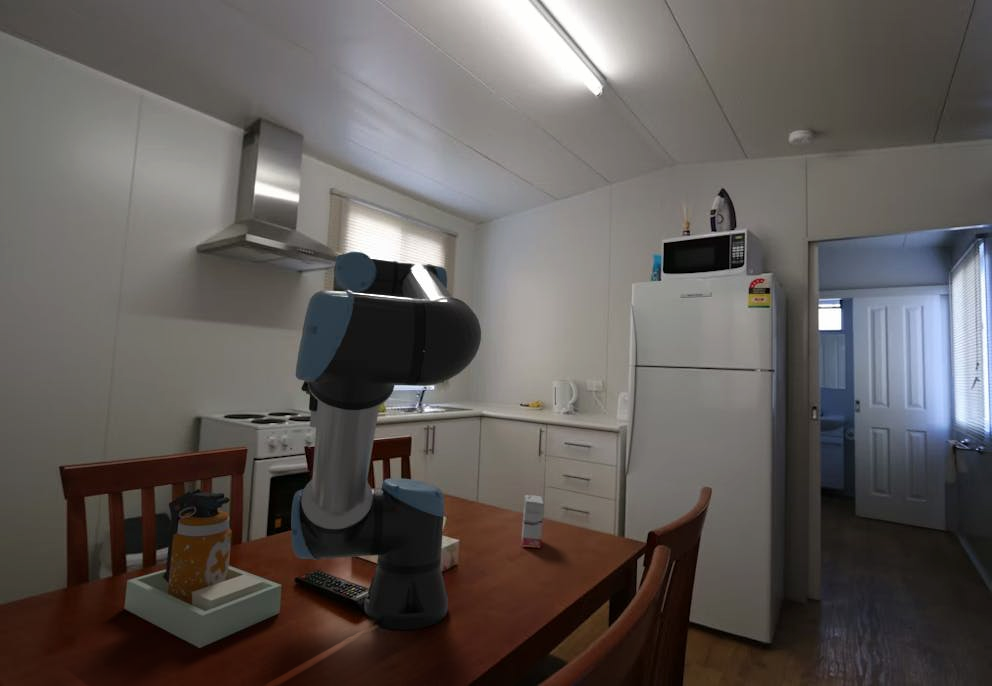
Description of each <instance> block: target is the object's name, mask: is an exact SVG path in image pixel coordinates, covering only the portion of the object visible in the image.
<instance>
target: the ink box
mask: <svg viewBox="0 0 992 686" xmlns="http://www.w3.org/2000/svg"><path fill="white" fill-rule="evenodd" d="M544 506H545V504H544V501H543V498H542V496H540V495H533V494H525V495H524V502H523V512H522V513H523V514H522V525H521V526H522V527H521V544H522V543H523V545H533V546H541V547H542V545H541V544H542V535H543V534H542V532H543V530H542V529H543V521H544V520H543V519H544V517H543V516H544Z"/></svg>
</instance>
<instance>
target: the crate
mask: <svg viewBox="0 0 992 686" xmlns="http://www.w3.org/2000/svg"><path fill="white" fill-rule="evenodd" d="M165 572H166V568H165V569H162V570H159V571H155V572H151V573H149V574H145V575H141V576H138V577H134V578H131V579H128V580H126V589H125V600H124V608H123V609H124V610H125V611H128V612H129V613H132V614H133V615H136V616H137V617H139V618H142V619H143V620H145V621H147V622H149V623H151V624H152V625H154V626H157V627H159V628H160V629H163V630H164V631H166V632H168V633H170V634H171V635H173V636H176V637H178V638H180V639H181V640H183V641H185V642H187V643H189V644H191V645H192V646H195V647H197V648H199V649H201V648H203V647H206V646H207V645H210V644H213V643H215V642H217V641H219V640H222V639H224V638H226V637H228V636H230V635H231V636H232V635H233V634H235V633H238V632H240V631H242V630H244V629H247V628H249V627H251V626H253V625H256V624H258V623H260V622H262V621H265V620H266V619H269V618H272V617H273V616H276V615H279V614H280V612H281V611H280V609H281V600H282V599H281V597H282V584H280V583H276V582H275V581H271V580H269V579H266V578H263V577H261V576H259V575H255V574H252V573H250V572H248V571H245V570H242V569H239V568H236V567H233V566H231V565H229V567H228V578H227V580H229V579H232V578H235V577H238V576H241V575H247V576H249V577H252V578H255V579H257V580H260V581H263V585H262V589H261V590H260V591H257V592H255V593H252V594H249V595H247V596H244V597H242V598H239V599H236V600H234V601H231V602H228V603H226V604H223V605H220V606H218V607H215V608H213V609H210V610H207V611H203V610H201V609H199V608H197V607H195V606H193V605H190V604H188V603H186V602H184V601H182V600H179V599H177V598H175V597H173V596H171V595H169V594H168V585H169V583H168V582H167V581H166V580H165V579H164V578H163V575H164V574H165Z"/></svg>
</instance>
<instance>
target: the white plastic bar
mask: <svg viewBox="0 0 992 686" xmlns="http://www.w3.org/2000/svg"><path fill="white" fill-rule="evenodd" d="M262 585H263V581H260V580H257V579H255V578H252V577H249V576H247V575H241V576H238V577H235V578H232V579H229V580H226V581H223V582H220V583H217V584H215V585H212V586H209V587H206V588H203V589H200V590H197V591H194V592H192V596H193V597H192V605H193V606H195V607H197V608H199V609H201V610H203V611H207V610H210V609H213V608H215V607H218V606H220V605H223V604H226V603H228V602H231V601H234V600H236V599H239V598H242V597H244V596H247V595H249V594H252V593H255V592H257V591H260V590H261V589H262Z"/></svg>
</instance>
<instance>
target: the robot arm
mask: <svg viewBox="0 0 992 686" xmlns="http://www.w3.org/2000/svg"><path fill="white" fill-rule="evenodd" d="M332 284H333V287H332V290H320V291H317V292H314V294H312V296H311V298H310V299H309V301H308V305H307V308H306V313H305V315H304V316H305V317H304V322H303V327H302V331H301V338H300V342H299V343H300V344H299V348H298V353H297V360H296V366H295V377H296V379H297V380H299V381H303V384H302V385H301V388H300V389H301V391H302V392H305V394H307V395H309V402H308V410H309V412H310V416H309V417H310V419H309V428H315V439H314V450H313V451H314V453H313V465H312V467H313V468H312V478H311V480H310V481H308V483H307V484H306V485H305V486H304V488H303V489H299V490H297V491H296V492H295V493H294V495H293V499H292V504H291V505H292V506H291V513H290V514H291V515H290V516H291V517H290V526H291V527H290V529H291V546H292V550H293V553H294V555H295V557H297V558H299V559H303V560H304V559H305V560H316V561H319V560H323V559H326V560H327V559H339V558H340V559H341V558H355V557H370V556H377V564H376V569H375V571H374V575H373V577H372V580H371V583H370V585H369V587H368V591H367V593H366V596H365V597H364V598H365V599H364V607H363V608H364V609H363V610H364V613H365V615H366V617H368V618H369V619H371V620H372V621H375V622H372V624H374V625H376V626H378V627H381V628H385V629H391V630H399V631H400V630H401V631H403V630H404V631H405V630H406V631H407V630H415V629H416V630H417V629H421V628H426V627H430V626H433V625H435V624H437V623H439V622H441V621H442V620H443V619H444V618H445V617H446V616H447V613H448V603H449V599H448V598H449V597H448V593H447V591H446V586H445V581H444V576H443V573H442V570H441V569H442V568H441V563H442V561H441V560H442V549H443V547H442V546H443V545H442V544H443V529H444V517H445V513H446V512H445V497H444V493H443V491H442V490H441V489H440V488H439V486H438V487H437V486H436V485H434V484H431V483H428V482H425V481H420V480H415V479H409V478H401V477H395V478H386V479H384V480H383V482H382V483H381V487H378V488H377V487H374V488H373V487H371V485H370V484H369V482H368V475H369V470H370V469H369V468H370V463H371V460H372V459H371V458H372V453H373V452H372V451H373V446H374V442H375V441H374V440H375V436H376V435H375V433H376V430H377V429H376V427H377V421H378V417H379V416H378V415H379V411H380V406H381V405H383V404H384V403H386V402H387V401H388V399H389V398H390V397H391V396H392V395H393V391H394V390H395V386H412V387H413V386H418V387H419V386H421V387H426V386H433V385H438V384H441V383H444V382H446V381H449V380H450V379H452V378H454V377H456V376H457V375H459V374H461V372H462V371H464V370H465V369H467V367H468V366H469V365H470V364H471V363H472V362H473V360H474V358H475V357H476V355H477V353H478V351H479V349H480V345H481V341H482V328H481V325H480V322H479V319H478V317H477V314H475V312H474V310H473V309H472V308H471V307H470V306H469V305H468V304H467V303H466V302H464V301H463V300H461V299H459V298H457V297H453V296H452V294H451V293H450V292H449V290H448V289H447V288H448V275H447V270H446V269H445V268H444V267H443V266H438V265H435V264H434V265H433V264H431V263H427V264H425V263H416V262H407V261H401V260H399V261H398V260H393V259H386V258H385V259H384V258H378V257H377V258H376V257H371V256H369V255H368V254H366V253H364V252H362V251H357V250H356V251H350V252H346V253H342V254H338V255H337V256H336V258H335V263H334V268H333V283H332Z"/></svg>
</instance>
